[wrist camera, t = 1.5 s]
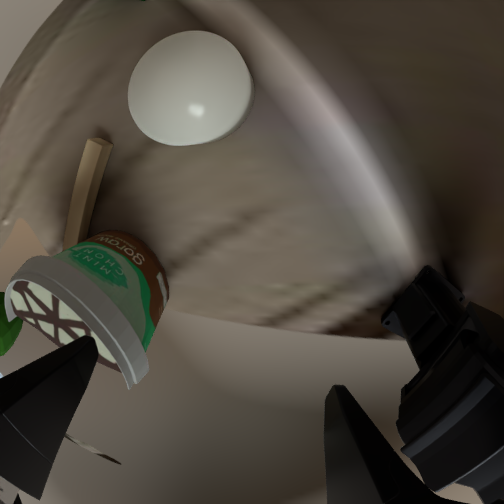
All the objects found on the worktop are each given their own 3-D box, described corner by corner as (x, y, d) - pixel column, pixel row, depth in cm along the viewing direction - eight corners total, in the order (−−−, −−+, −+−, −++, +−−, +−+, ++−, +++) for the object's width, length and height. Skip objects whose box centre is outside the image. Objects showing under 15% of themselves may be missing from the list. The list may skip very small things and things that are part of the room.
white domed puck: (274, 73, 15) (271, 56, 11) (223, 160, 18) (207, 166, 14) (185, 38, 14) (163, 19, 11) (141, 121, 17) (111, 120, 13)
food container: (195, 237, 20) (131, 317, 11) (185, 303, 23) (137, 393, 13) (70, 203, 20) (-14, 246, 11) (72, 263, 23) (5, 318, 13)
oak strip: (113, 144, 18) (102, 146, 16) (77, 294, 24) (69, 301, 23) (99, 137, 18) (87, 138, 16) (66, 286, 24) (58, 293, 22)
